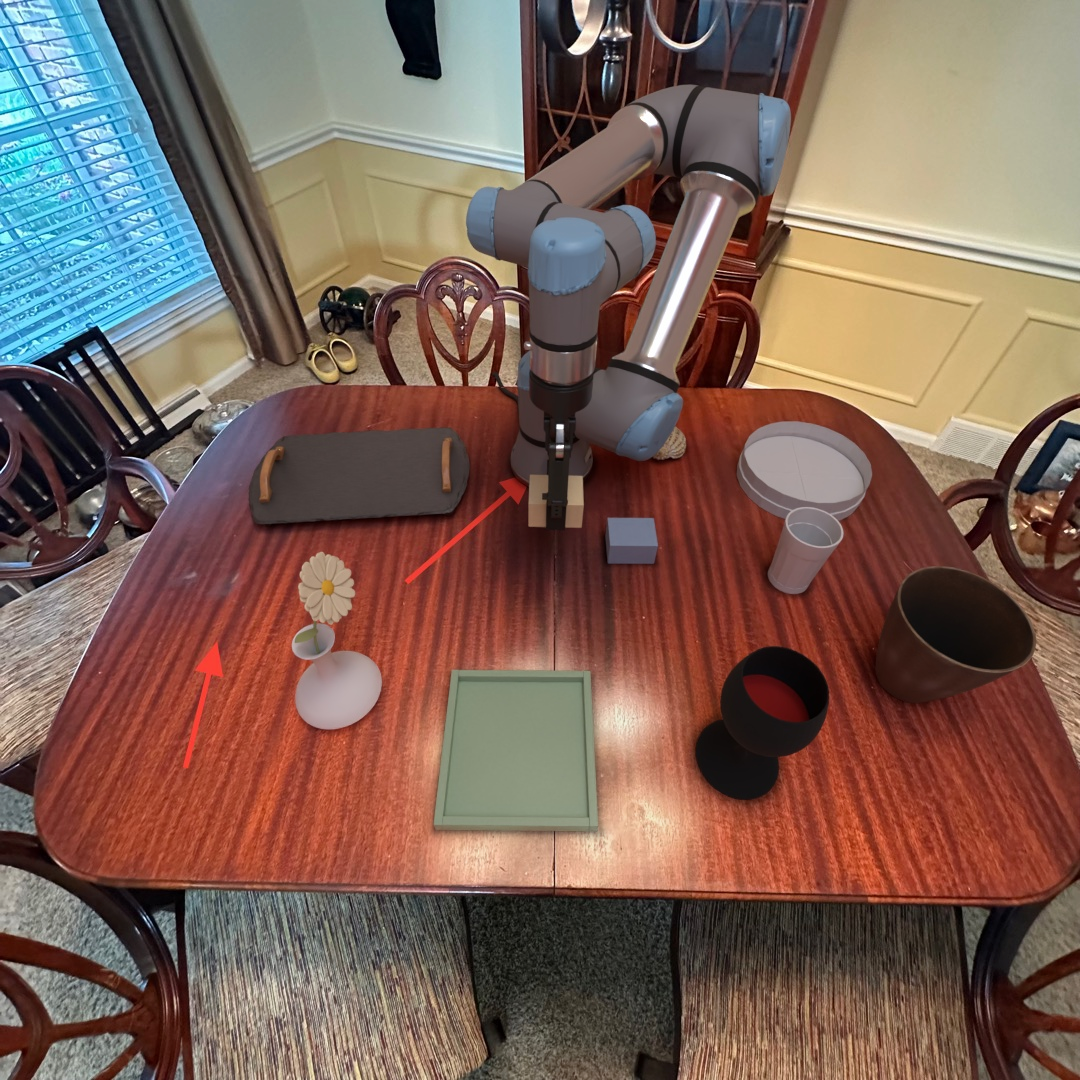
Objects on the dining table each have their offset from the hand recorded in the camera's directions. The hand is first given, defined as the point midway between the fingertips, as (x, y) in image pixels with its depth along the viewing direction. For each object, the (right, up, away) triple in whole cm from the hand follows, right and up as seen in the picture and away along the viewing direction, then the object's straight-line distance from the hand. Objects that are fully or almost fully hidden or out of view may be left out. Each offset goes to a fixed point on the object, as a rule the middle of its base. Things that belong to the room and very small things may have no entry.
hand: (555, 511), depth 86 cm
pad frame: (-5, -31, -9) cm, 33 cm away
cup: (+37, -10, +9) cm, 40 cm away
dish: (+45, +7, +24) cm, 51 cm away
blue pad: (+12, -6, +13) cm, 19 cm away
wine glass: (+23, -32, -10) cm, 41 cm away
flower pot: (+48, -24, -3) cm, 54 cm away
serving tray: (-34, +6, +23) cm, 42 cm away
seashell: (+22, +13, +29) cm, 39 cm away
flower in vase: (-29, -25, -4) cm, 38 cm away
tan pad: (0, 0, 0) cm, 0 cm away
